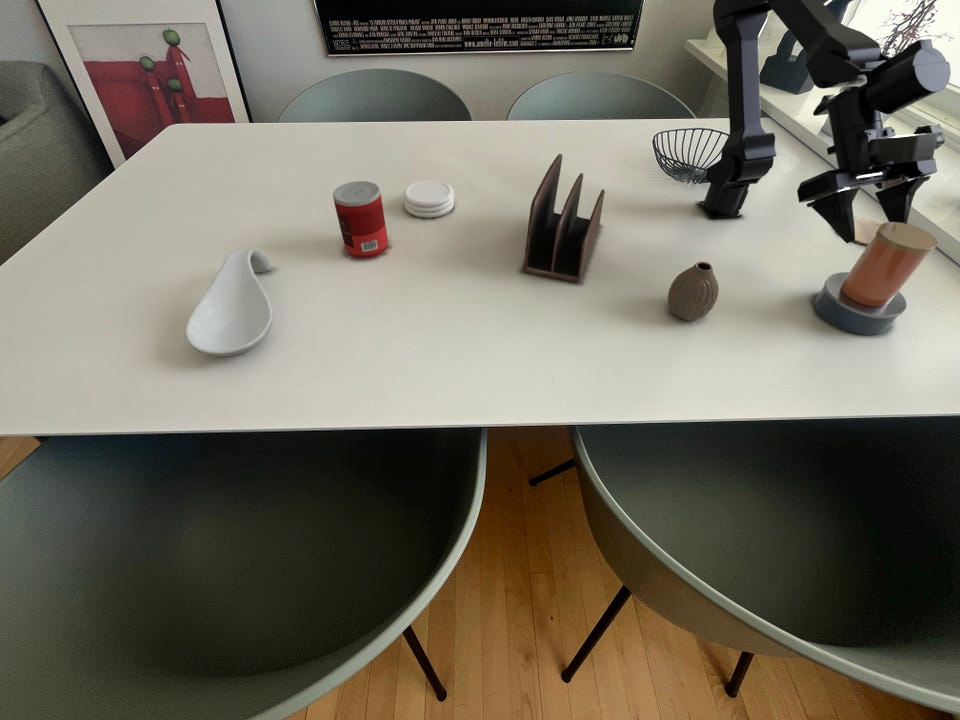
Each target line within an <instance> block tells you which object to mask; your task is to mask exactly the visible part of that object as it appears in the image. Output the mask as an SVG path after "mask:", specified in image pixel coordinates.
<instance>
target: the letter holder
mask: <svg viewBox="0 0 960 720" xmlns="http://www.w3.org/2000/svg"><path fill="white" fill-rule="evenodd" d="M562 162H563V154H562V153H558V154H557V156H556V157H555V159H554V160H553V162H551V164H550V166H549V168H548V169H547V171H546V173H545V175H544V177H543V178H542V180H541V182H540V183H539V186H538V187H537V190H536V192H535V194H534V196H533V199H532V201H531V204H530V207H529V217H528V224H527V232H526V242H525V251H524V262H523V268H522V271H523V272H524V273H529V274H534V275H539V276H544V277H549V278H553V279H558V280H561V281H562V280H563V281H568V282H572V283H577V284H578V283H580V282H581V279H582V275H583V273H584V270H585V267H586V264H587V261H588V259H589V256H590V253H591V251H592V250H591V249H592V247H593V245H594V241H595V239H596V236H597V233H598V231H599V228H600V224H601V217H602V211H603V205H604V199H605V193H606V191H605V189H604V188H602V189H601V190H600V193H599V195H598V197H597V199H596V202H595V205H594V207H593V210H592V212H591V215H590V217H589V218H585V217H581V216H578V212H579V211H578V210H579V204H580V197H581V193H582V192H581V191H582V186H583V180H584V173H583V172H581V173H579V174H578V176H577V178H576V180H575V182H574V183H573V185H572V188H571V189H570V192H569V193H568V196H567V198H566V199H565V200H566V201H565V203H564V205H563V208H562V210H561V213H558V212H555V206H556V200H557V193H558V188H559V181H560V175H561V169H562Z"/></svg>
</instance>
